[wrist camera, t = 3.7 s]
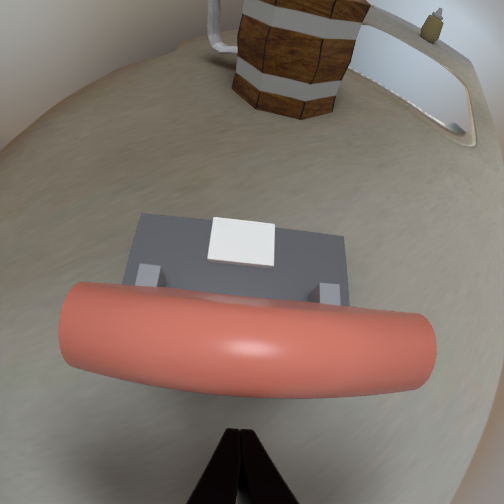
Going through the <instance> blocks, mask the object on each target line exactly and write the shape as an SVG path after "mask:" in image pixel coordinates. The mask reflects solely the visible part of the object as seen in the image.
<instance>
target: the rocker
mask: <svg viewBox="0 0 504 504" xmlns="http://www.w3.org/2000/svg"><path fill="white" fill-rule="evenodd" d="M58 332H59V344H60V349H61V353H62V355H63V357H64V359H65V361H66V362H67V363H68V364H69V365H70V366H72V367H75V368H78V369H82V370H85V371H89V372H93V373H96V374H100V375H104V376H108V377H113V378H117V379H121V380H126V381H130V382H135V383H140V384H146V385H151V386H156V387H162V388H168V389H175V390H182V391H189V392H197V393H205V394H215V395H225V396H238V397H254V398H282V399H311V398H339V397H355V396H367V395H378V394H387V393H395V392H403V391H409V390H415V389H418V388H420V387H421V386H422V385H423V384H424V383H425V382H426V381H427V380H428V378H429V376H430V375H431V372H432V370H433V367H434V364H435V359H436V338H435V334H434V331H433V328H432V326H431V324H430V322H429V321H428V320H427V319H426V318H425V317H424V316H423V315H421V314H417V313H407V312H396V311H386V310H376V309H366V308H357V307H348V306H339V305H331V304H323V303H315V302H305V301H292V300H280V299H269V298H258V297H247V296H237V295H228V294H218V293H209V292H201V291H192V290H184V289H176V288H168V287H152V286H135V285H119V284H105V283H92V282H80V283H77V284H76V285H75V286H74V287H72V289H71V290H70V291H69V293H68V295H67V296H66V298H65V301H64V303H63V306H62V310H61V314H60V319H59V330H58Z"/></svg>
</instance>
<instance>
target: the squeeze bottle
mask: <svg viewBox="0 0 504 504" xmlns="http://www.w3.org/2000/svg"><path fill="white" fill-rule="evenodd" d="M432 15H433V16H432ZM432 15H429V16H428V18H427V20H426V21H425V23H424V25H423V26H422V28H421V37H422V38H424V39H425V40H427V41H428V42H431V43H434V42H435V41H436V40H437V39H438V38H439V35H440V32H441V29H442V26H443V22H442V21H441V20H443V17H442V16H441V15H442V9H441V8H439V9H438V10H437V11H436V13H435V12H433V13H432Z"/></svg>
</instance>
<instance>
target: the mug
mask: <svg viewBox="0 0 504 504" xmlns="http://www.w3.org/2000/svg"><path fill="white" fill-rule="evenodd" d="M370 6H371V5H370V4H369V3H368V2H367V1H366V0H244V7H243V14H242V18H241V22H240V27H239V31H238V35H237V46H227V45H226V44H224V43H223V42H222V41H221V37H220V34H219V24H220V11H221V9H220V0H208V38H209V41H210V43H211V46H212V48H214V49H215V50H217V51H218V52H219V53H222V54H236V55H238V57H237V65H236V73H235V77H234V81H233V85H232V89H233V90H234V91H235V92H236V93H237V94H238V95H240V96H241V97H242V98H243V99H244V100H245V101H247V102H248V103H249V104H250V105H251V106H252V107H253V108H255V109H256V110H261V111H266V112H270V113H275V114H279V115H283V116H287V117H291V118H295V119H299V120H303V119H307V118H311V117H315V116H319V115H323V114H327V113H331V112H332V111H333V107H334V102H335V98H336V94H337V91H338V89H339V86H340V83H341V81H342V78H343V76H344V74H345V72H346V70H347V68H348V66H349V64H350V62H351V58H352V54H353V50H354V46H355V41H356V38H357V35H358V32H359V30H360V27H361V24H362V22H363V20H364V18H365V16H366V14H367V12H368V10H369V8H370Z"/></svg>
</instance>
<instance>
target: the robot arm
mask: <svg viewBox="0 0 504 504" xmlns="http://www.w3.org/2000/svg"><path fill="white" fill-rule="evenodd" d="M236 496H237V499H238V504H299V502H298V501H297V499H296V498H295V496H294V495H293V493H292V492H291V490H290V489H289V487H288V486H287V484H286V483H285V481H284V479H283V478H282V476H281V475H280V473H279V472H278V470H277V468H276V467H275V465H274V463H273V462H272V460H271V459H270V457H269V455H268V454H267V452H266V450H265V449H264V447H263V445H262V443H261V442H260V440H259V438H258V437H257V435H256V433H255V432H254V431H253V430H251V429H241V430H239V429H233V428H227V429H226V430H225V432H224V434H223V436H222V438H221V440H220V442H219V444H218V446H217V448H216V450H215V451H214V453H213V455H212V457H211V459H210V461H209V463H208V465H207V467H206V468H205V470H204V472H203V474H202V476H201V478H200V480H199V481H198V483H197V485H196V487H195V489H194V490H193V492H192V494H191V496H190V498H189V499H188V501H187V503H186V504H235V503H236Z"/></svg>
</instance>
